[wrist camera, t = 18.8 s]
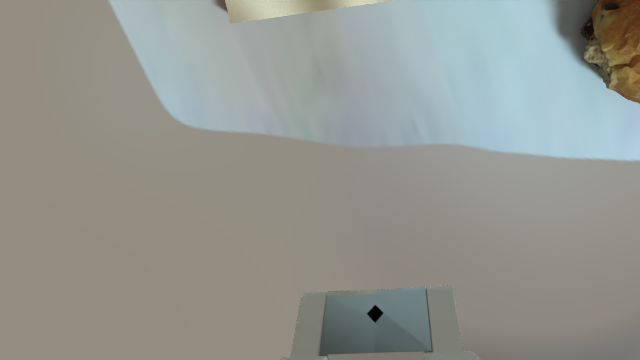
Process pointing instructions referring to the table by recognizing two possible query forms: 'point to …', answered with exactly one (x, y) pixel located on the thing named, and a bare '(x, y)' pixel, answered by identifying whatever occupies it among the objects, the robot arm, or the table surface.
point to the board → (283, 7)
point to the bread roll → (615, 45)
